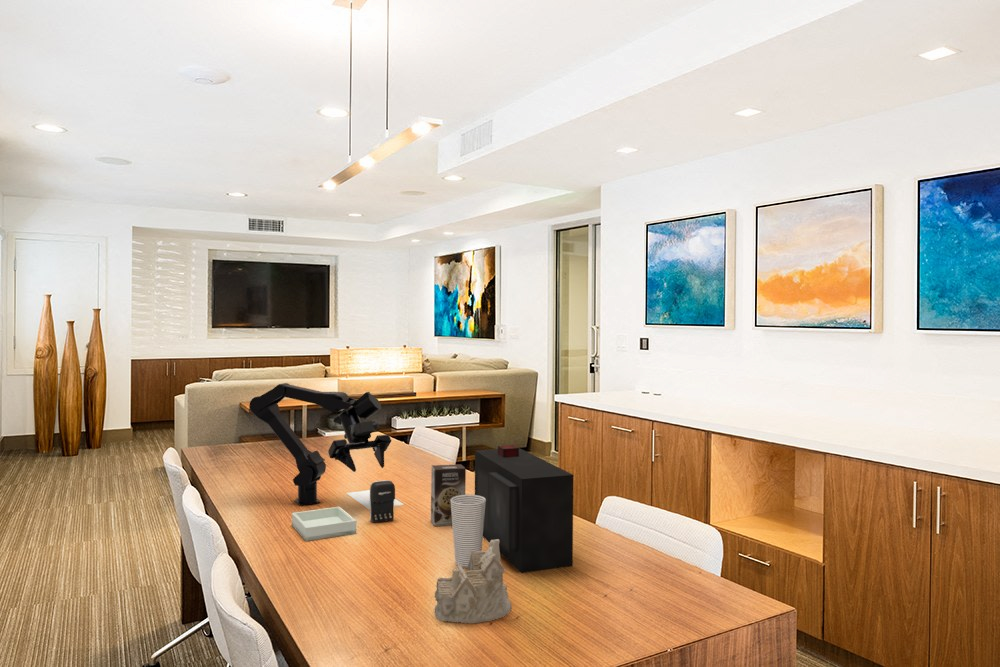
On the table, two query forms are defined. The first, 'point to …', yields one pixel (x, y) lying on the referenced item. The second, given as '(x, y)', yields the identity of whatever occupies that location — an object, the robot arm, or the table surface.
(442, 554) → the table surface
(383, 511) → the battery charger
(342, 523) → the tray
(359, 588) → the table surface
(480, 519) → the cup
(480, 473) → the speaker
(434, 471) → the coffee box
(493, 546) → the ceramic cottage
